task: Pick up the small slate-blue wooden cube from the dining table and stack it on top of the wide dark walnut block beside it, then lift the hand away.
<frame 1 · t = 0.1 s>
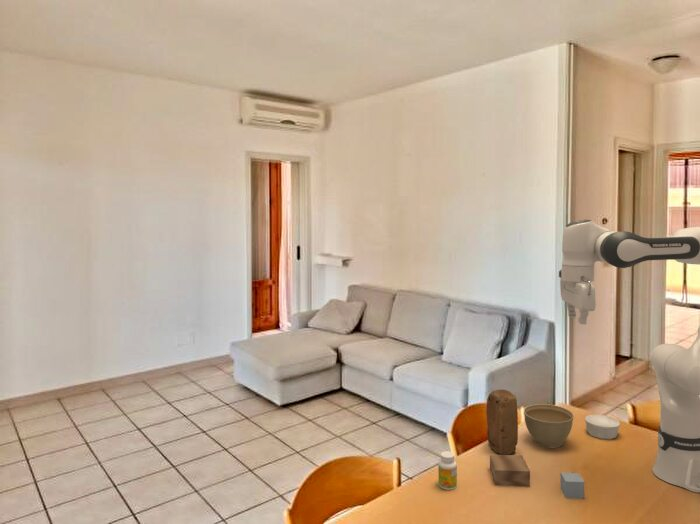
hand: (576, 320, 154), 48 cm above the table, tool pointing down, fingers open, 8 cm apart
block: (501, 449, 176), on the table
ramekin: (601, 434, 185), on the table
walnut block: (509, 478, 157), on the table
slate cube: (571, 493, 147), on the table
supplement bottle: (447, 486, 153), on the table
planter bowl: (547, 443, 180), on the table
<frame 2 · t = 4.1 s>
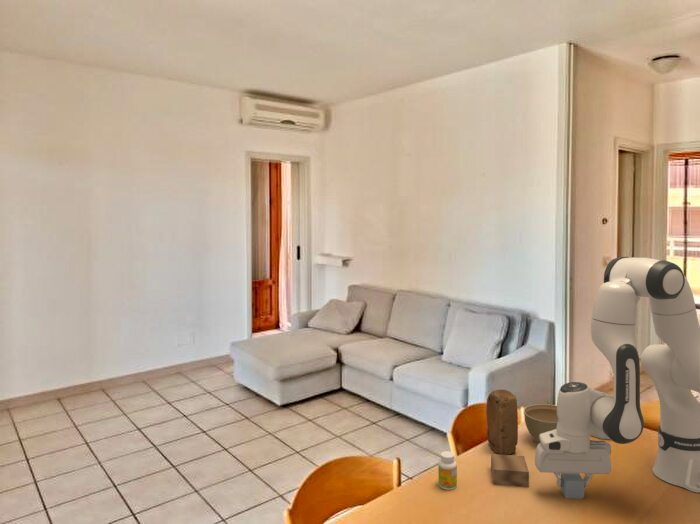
hand: (572, 486, 147), 2 cm above the table, tool pointing down, fingers closed on slate cube, 5 cm apart
slate cube: (571, 493, 147), on the table, touching gripper
everything else where it was.
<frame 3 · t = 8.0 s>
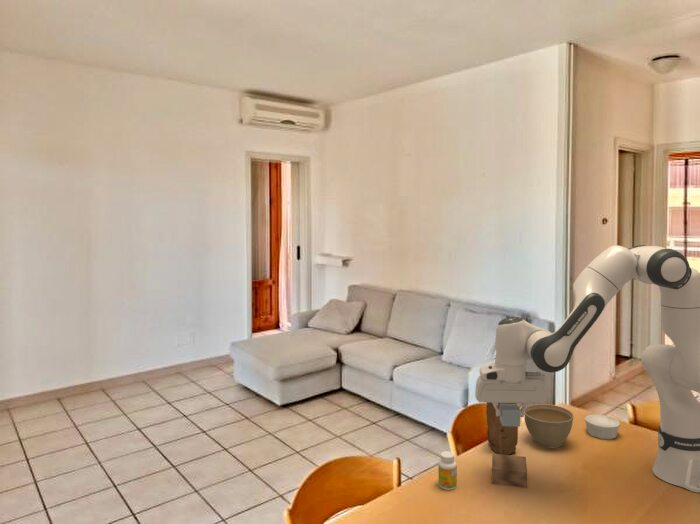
hand: (509, 416, 155), 19 cm above the table, tool pointing down, fingers closed on slate cube, 5 cm apart
slate cube: (509, 423, 155), point 17 cm above the table, touching gripper
everything else where it was.
when the fingers open (8 cm above the table, at t = 11.6 s): slate cube stays where it is, resting on walnut block.
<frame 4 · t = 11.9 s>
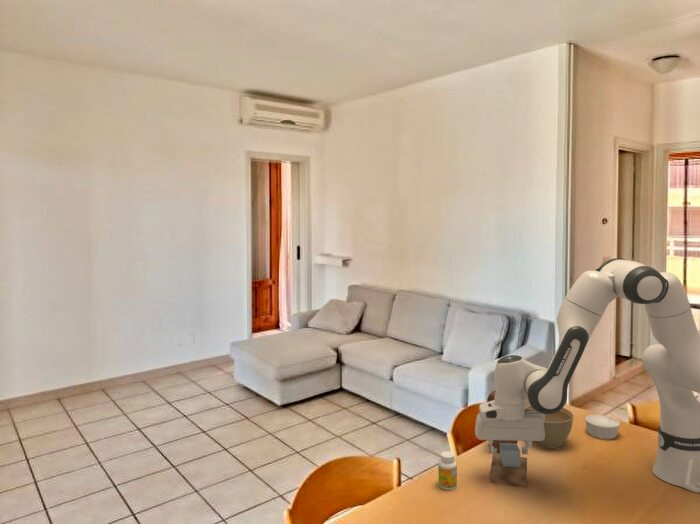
hand: (509, 453, 156), 8 cm above the table, tool pointing down, fingers open, 8 cm apart
walnut block: (509, 478, 157), on the table, touching slate cube
slate cube: (510, 462, 156), point 5 cm above the table, touching walnut block
everything else where it was.
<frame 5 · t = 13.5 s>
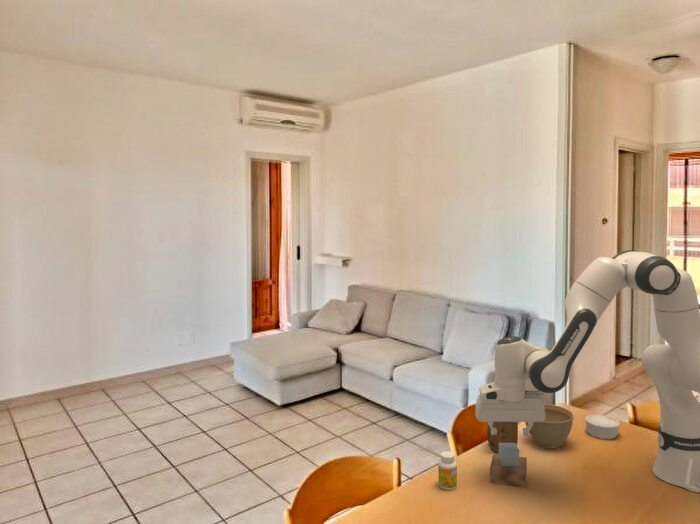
hand: (510, 434, 156), 13 cm above the table, tool pointing down, fingers open, 8 cm apart
walnut block: (508, 478, 157), on the table
slate cube: (508, 462, 157), point 5 cm above the table
everything else where it was.
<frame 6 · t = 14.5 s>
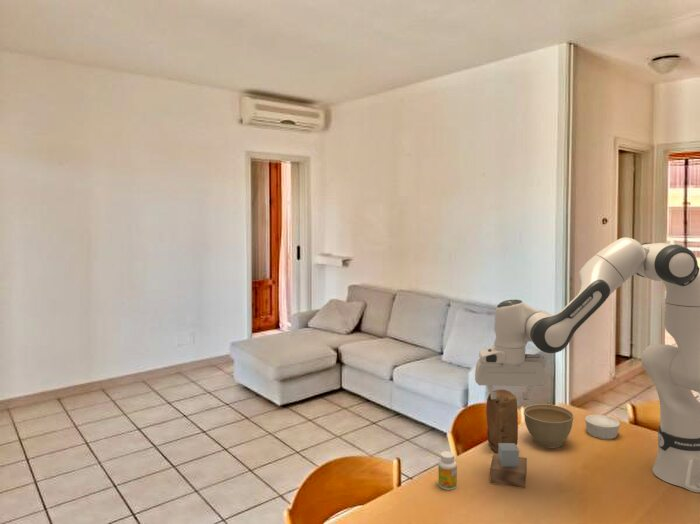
hand: (509, 399, 155), 25 cm above the table, tool pointing down, fingers open, 8 cm apart
walnut block: (508, 478, 157), on the table, touching slate cube
slate cube: (508, 462, 157), point 5 cm above the table, touching walnut block
everything else where it was.
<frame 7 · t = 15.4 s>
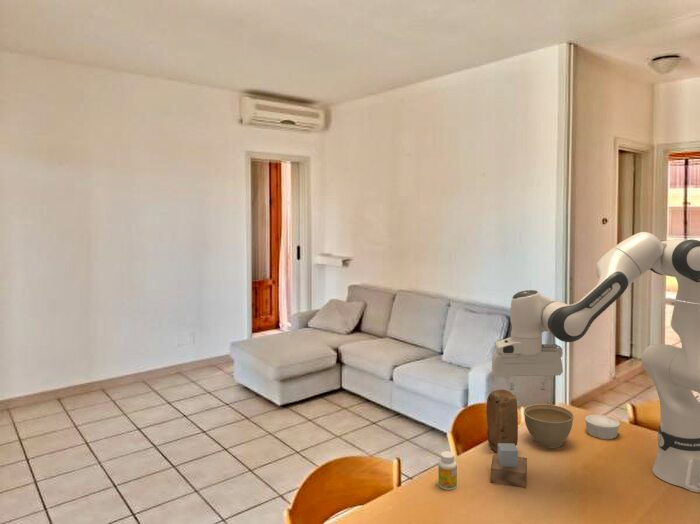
hand: (527, 389, 155), 27 cm above the table, tool pointing down, fingers open, 8 cm apart
nothing on the table moved.
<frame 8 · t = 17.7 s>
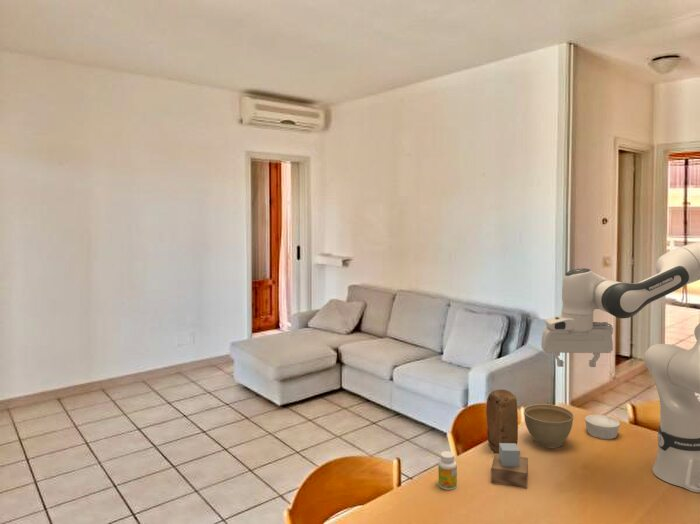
hand: (576, 366, 157), 33 cm above the table, tool pointing down, fingers open, 8 cm apart
nothing on the table moved.
at the end: slate cube inside the target area on the walnut block (0.3 cm from its centre), point 5.0 cm above the walnut block's base; slate cube tilted 1°; the gripper is holding nothing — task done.
